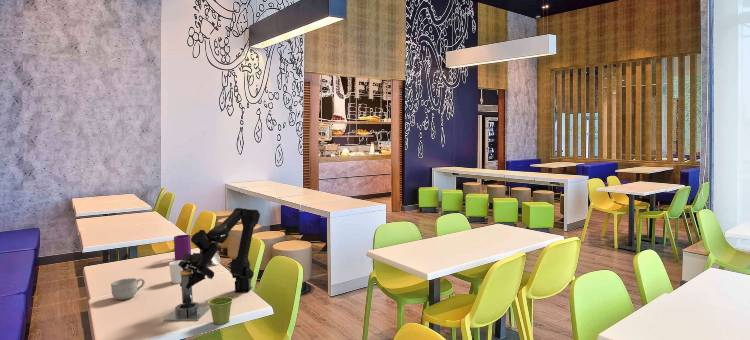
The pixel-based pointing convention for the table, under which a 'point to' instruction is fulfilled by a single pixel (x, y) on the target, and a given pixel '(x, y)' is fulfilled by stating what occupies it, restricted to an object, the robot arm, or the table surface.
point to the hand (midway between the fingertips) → (183, 287)
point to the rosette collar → (187, 312)
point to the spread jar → (215, 259)
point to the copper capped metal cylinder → (184, 281)
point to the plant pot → (220, 309)
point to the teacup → (125, 288)
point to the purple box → (181, 246)
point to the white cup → (175, 271)
